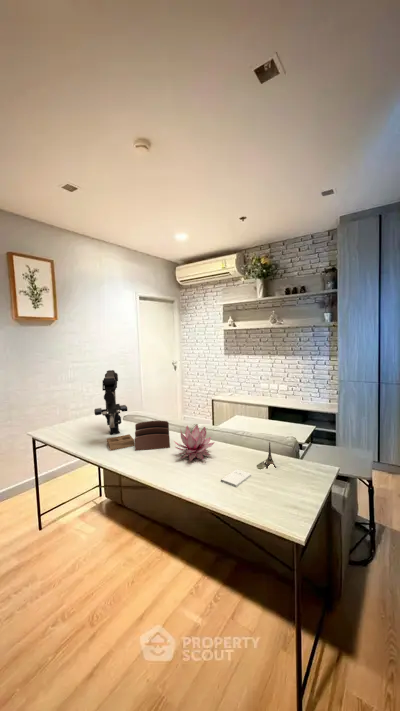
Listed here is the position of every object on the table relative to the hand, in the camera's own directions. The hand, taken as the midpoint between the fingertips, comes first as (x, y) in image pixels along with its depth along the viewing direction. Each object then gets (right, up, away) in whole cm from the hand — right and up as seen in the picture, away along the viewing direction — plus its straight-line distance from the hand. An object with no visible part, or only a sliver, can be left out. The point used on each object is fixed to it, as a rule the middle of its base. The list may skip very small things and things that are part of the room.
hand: (111, 423), depth 180 cm
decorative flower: (+51, -12, -22) cm, 57 cm away
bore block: (+6, -12, -2) cm, 14 cm away
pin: (0, -2, 0) cm, 2 cm away
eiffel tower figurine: (+87, -13, -36) cm, 95 cm away
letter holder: (+26, -12, -6) cm, 29 cm away
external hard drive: (+70, -14, -48) cm, 86 cm away
